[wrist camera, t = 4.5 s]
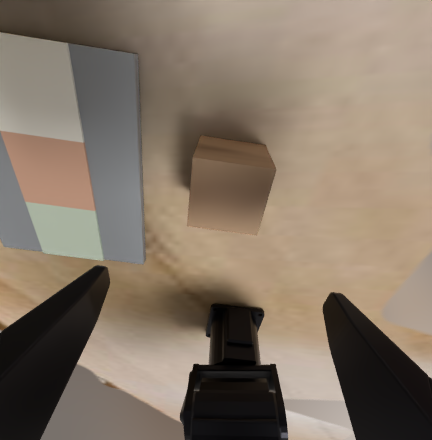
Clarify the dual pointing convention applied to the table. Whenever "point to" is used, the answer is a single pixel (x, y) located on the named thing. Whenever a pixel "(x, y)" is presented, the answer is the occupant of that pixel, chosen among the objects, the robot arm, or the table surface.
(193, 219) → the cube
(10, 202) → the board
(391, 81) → the table surface
